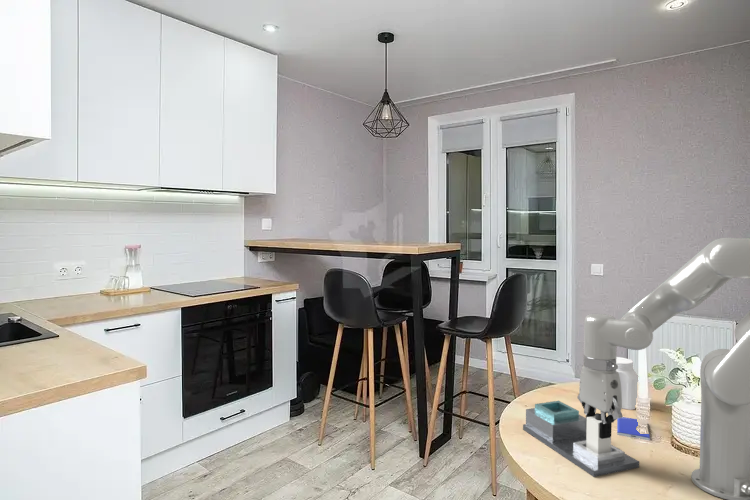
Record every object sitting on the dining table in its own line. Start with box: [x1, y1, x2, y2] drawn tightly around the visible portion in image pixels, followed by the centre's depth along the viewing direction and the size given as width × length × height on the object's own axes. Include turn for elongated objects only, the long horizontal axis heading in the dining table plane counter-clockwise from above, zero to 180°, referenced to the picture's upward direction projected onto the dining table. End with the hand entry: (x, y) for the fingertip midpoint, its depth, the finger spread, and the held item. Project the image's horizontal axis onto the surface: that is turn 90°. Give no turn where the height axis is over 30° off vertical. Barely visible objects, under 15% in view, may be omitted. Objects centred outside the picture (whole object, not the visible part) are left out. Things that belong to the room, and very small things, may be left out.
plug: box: [586, 412, 612, 454], centre depth 119 cm, size 4×4×9 cm
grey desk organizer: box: [522, 400, 640, 478], centre depth 127 cm, size 28×14×8 cm, turn 18°
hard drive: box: [616, 416, 651, 441], centre depth 138 cm, size 2×8×12 cm
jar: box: [616, 356, 639, 411], centre depth 157 cm, size 12×10×15 cm
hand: (598, 433), depth 119 cm, fingers closed on plug, 4 cm apart
